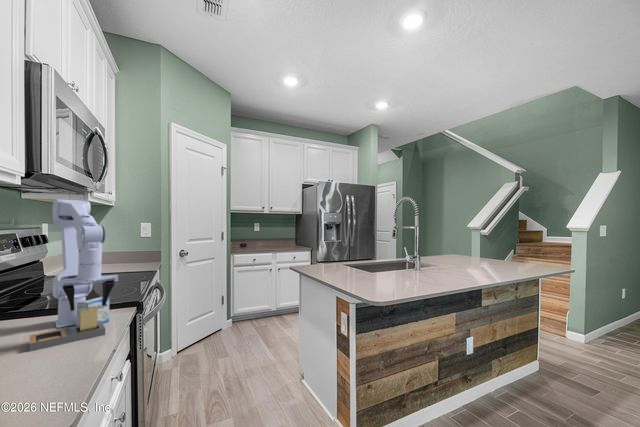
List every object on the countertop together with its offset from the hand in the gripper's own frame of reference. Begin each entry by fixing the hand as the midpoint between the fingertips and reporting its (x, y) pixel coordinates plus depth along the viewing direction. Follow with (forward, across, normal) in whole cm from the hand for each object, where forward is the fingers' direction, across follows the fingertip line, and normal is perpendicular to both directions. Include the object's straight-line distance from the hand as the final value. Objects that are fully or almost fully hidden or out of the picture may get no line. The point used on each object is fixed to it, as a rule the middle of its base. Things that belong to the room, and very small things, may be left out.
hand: (88, 307), depth 88 cm
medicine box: (+8, +3, +10) cm, 13 cm away
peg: (+8, 0, 0) cm, 8 cm away
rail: (+8, -4, 0) cm, 9 cm away
